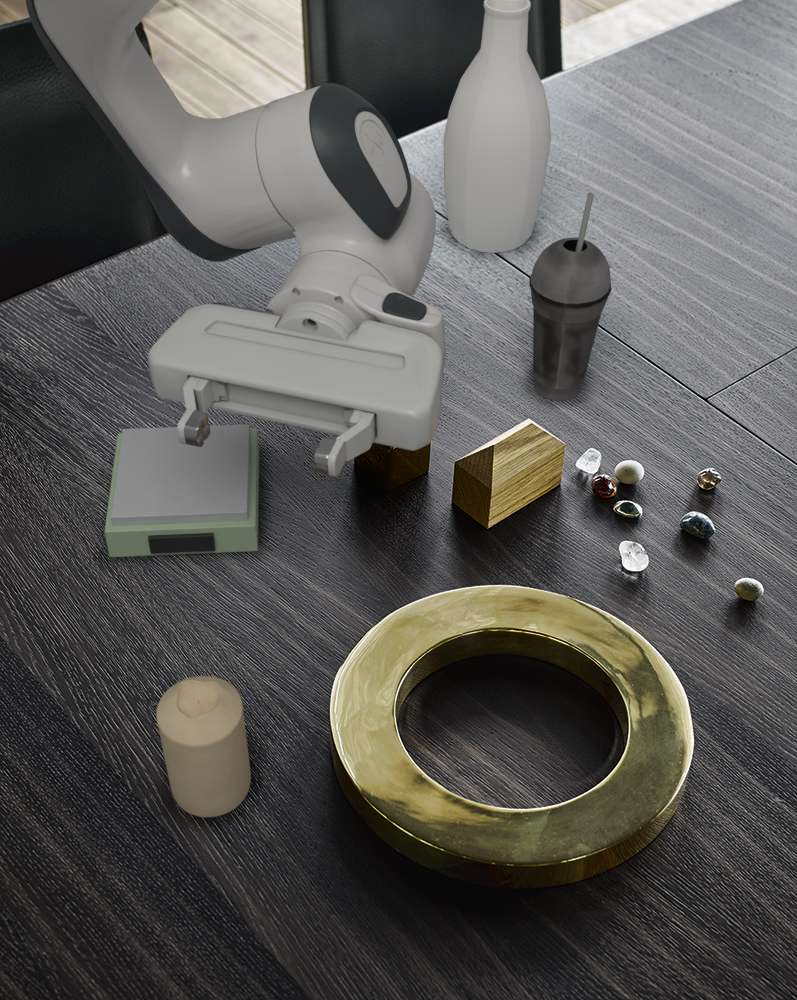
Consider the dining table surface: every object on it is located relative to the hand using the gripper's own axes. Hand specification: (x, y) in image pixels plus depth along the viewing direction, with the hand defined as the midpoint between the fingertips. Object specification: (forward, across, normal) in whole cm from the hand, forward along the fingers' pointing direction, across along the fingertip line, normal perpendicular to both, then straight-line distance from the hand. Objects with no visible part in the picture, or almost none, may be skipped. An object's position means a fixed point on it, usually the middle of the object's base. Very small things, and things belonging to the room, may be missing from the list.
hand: (255, 452), depth 80 cm
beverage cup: (-38, +13, +22) cm, 46 cm away
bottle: (-62, 0, +23) cm, 66 cm away
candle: (+12, 0, +20) cm, 24 cm away
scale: (-13, -13, +21) cm, 28 cm away
